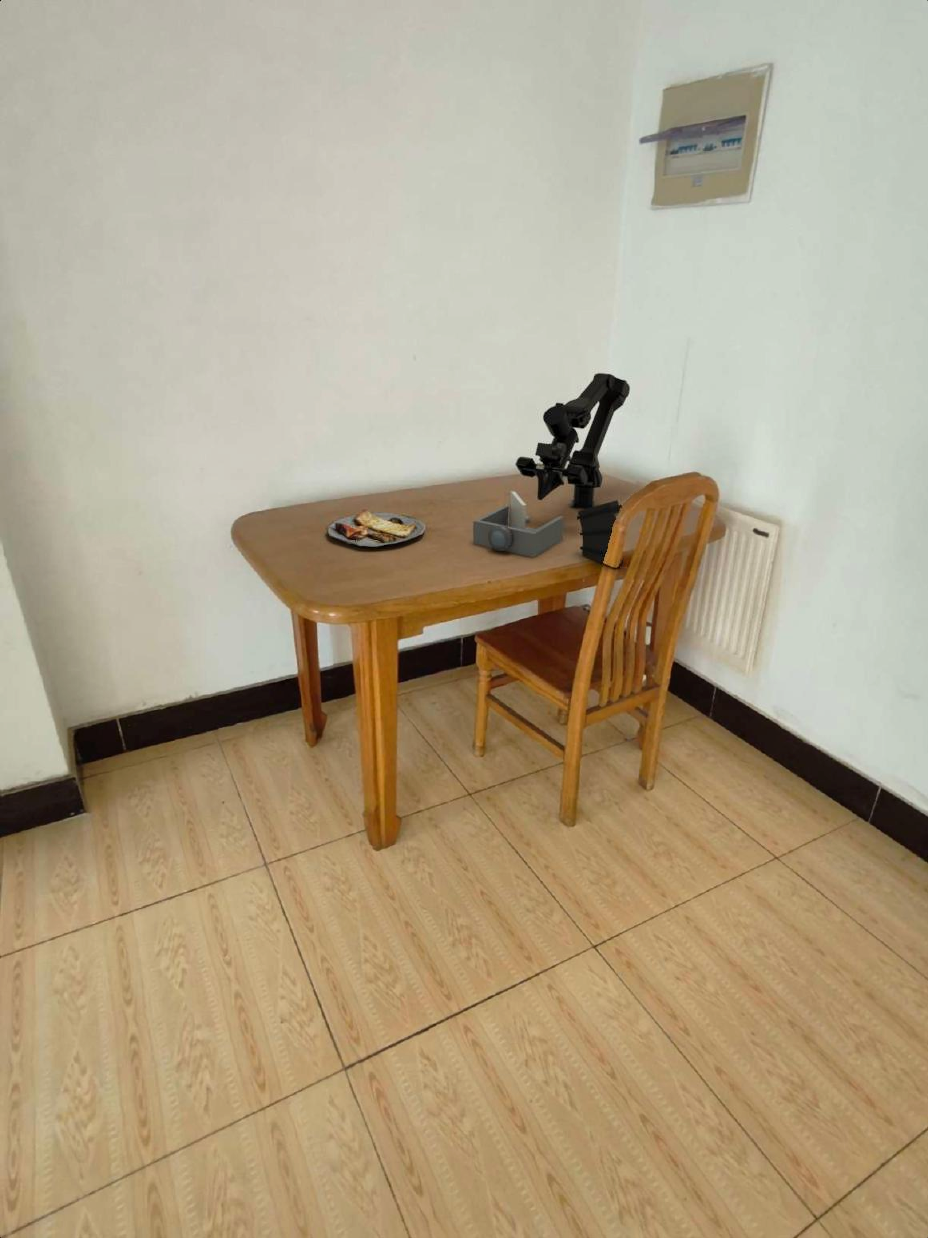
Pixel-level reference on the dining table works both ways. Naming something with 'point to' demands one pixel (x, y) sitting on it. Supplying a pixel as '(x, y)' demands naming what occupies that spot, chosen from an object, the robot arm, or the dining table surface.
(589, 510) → the black ribbed curved block
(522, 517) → the side door
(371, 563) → the dining table surface
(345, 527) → the food plate
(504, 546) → the grey open box
